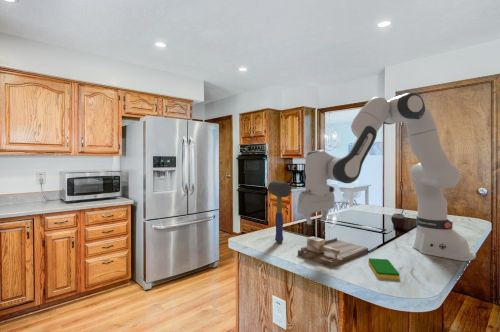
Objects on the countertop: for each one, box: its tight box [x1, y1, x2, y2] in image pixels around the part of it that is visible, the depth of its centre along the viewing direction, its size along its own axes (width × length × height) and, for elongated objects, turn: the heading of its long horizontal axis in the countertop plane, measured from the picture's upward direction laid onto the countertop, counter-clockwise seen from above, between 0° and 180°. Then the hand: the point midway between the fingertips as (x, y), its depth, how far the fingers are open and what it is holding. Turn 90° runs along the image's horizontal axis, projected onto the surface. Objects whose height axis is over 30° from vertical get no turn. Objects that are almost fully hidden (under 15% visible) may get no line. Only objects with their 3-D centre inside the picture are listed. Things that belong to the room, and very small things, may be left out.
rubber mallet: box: [267, 180, 292, 244], centre depth 135 cm, size 12×8×30 cm, turn 22°
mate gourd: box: [390, 202, 410, 231], centre depth 162 cm, size 8×8×15 cm
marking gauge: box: [306, 236, 340, 257], centre depth 114 cm, size 14×4×5 cm, turn 38°
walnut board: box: [297, 237, 369, 268], centre depth 119 cm, size 18×26×3 cm
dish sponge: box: [368, 258, 401, 280], centre depth 102 cm, size 7×14×2 cm, turn 169°
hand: (316, 222), depth 116 cm, fingers open, 8 cm apart
